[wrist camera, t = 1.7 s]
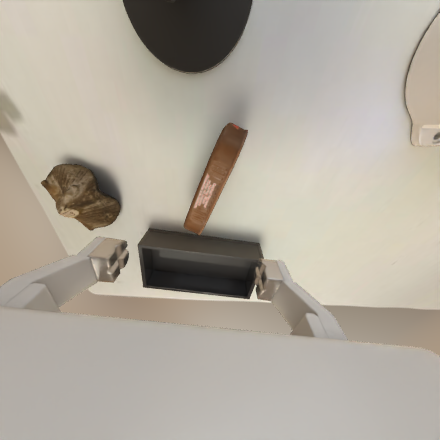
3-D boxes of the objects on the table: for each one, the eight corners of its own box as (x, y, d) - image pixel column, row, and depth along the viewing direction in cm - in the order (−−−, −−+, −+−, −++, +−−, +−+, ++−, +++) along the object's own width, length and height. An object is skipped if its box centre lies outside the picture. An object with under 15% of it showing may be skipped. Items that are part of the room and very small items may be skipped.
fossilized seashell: (32, 170, 23) (81, 223, 29) (16, 186, 18) (78, 245, 25) (91, 153, 25) (124, 206, 32) (90, 164, 21) (129, 223, 27)
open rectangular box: (259, 243, 32) (264, 260, 28) (246, 279, 37) (249, 299, 33) (149, 228, 31) (137, 244, 26) (152, 268, 36) (143, 287, 32)
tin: (205, 217, 29) (198, 249, 22) (188, 211, 29) (176, 241, 21) (246, 130, 22) (257, 134, 15) (225, 119, 21) (225, 117, 14)
